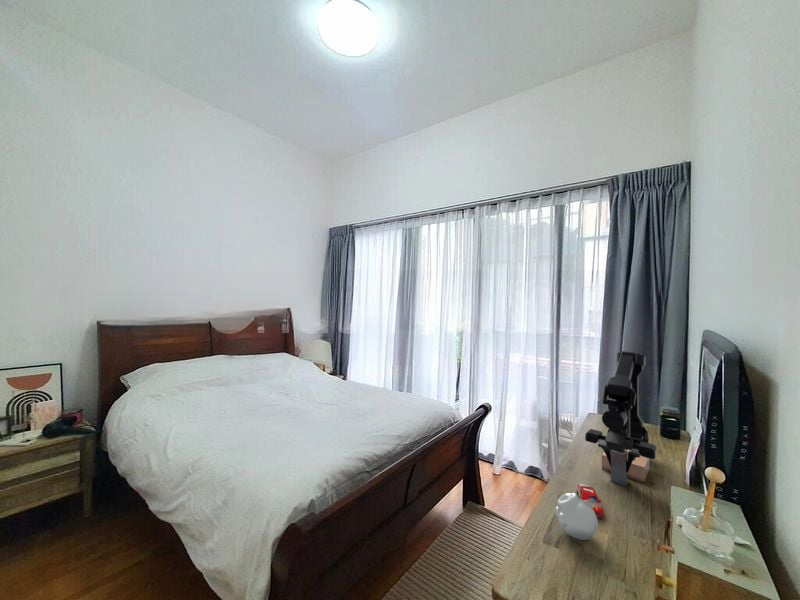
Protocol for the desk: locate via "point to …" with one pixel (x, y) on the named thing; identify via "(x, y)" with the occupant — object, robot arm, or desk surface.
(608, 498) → the desk surface
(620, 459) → the grey rectangular block
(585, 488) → the race car
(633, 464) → the well
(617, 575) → the desk surface
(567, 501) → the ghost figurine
